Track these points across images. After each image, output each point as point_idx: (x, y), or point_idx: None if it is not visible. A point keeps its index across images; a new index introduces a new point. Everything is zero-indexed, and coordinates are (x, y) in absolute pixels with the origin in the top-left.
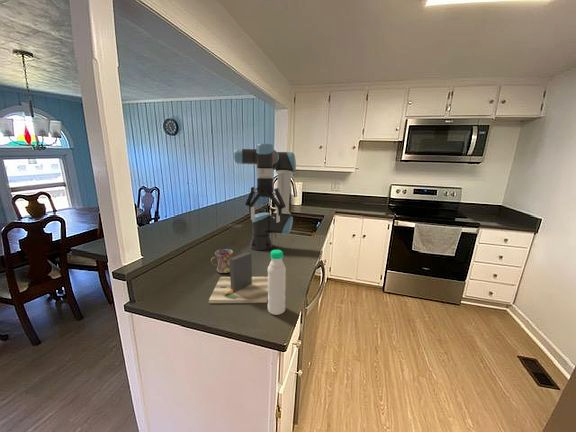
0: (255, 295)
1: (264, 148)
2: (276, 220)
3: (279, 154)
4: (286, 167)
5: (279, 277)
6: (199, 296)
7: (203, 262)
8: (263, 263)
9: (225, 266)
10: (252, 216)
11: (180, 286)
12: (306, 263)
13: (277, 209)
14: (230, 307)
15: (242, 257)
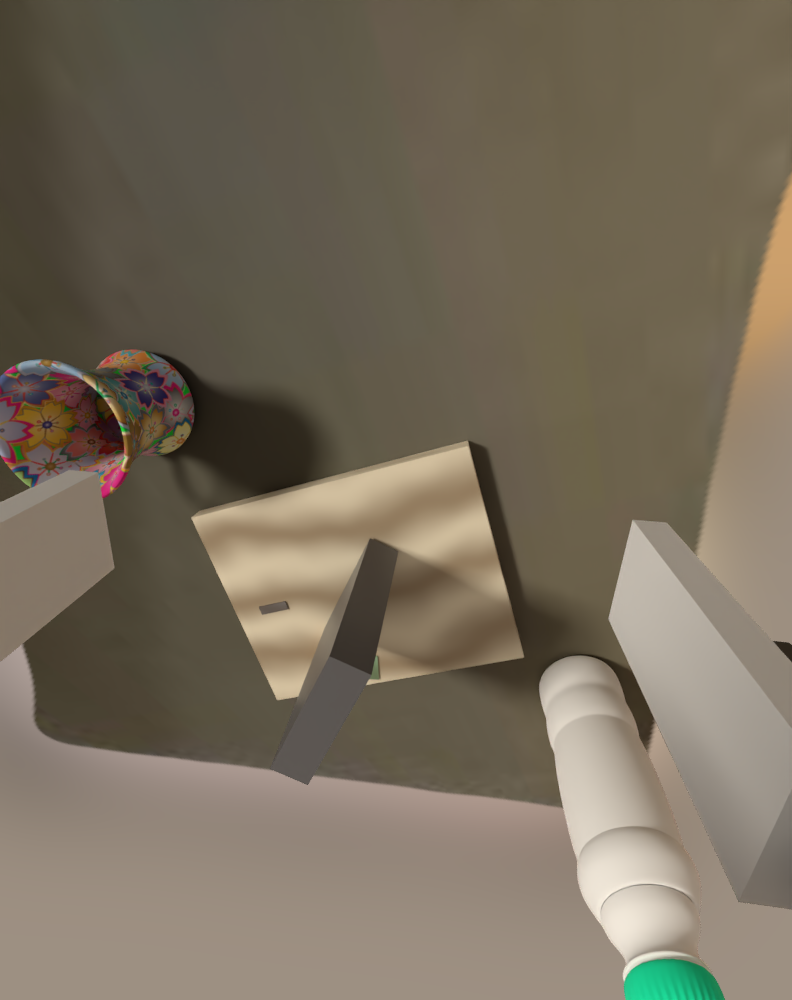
0: (458, 639)
1: None
2: (620, 644)
3: None
4: None
5: (652, 884)
6: (212, 657)
7: None
8: (343, 195)
9: (153, 448)
10: (66, 598)
11: (74, 608)
12: (739, 47)
13: (775, 904)
14: (379, 696)
15: (338, 729)
